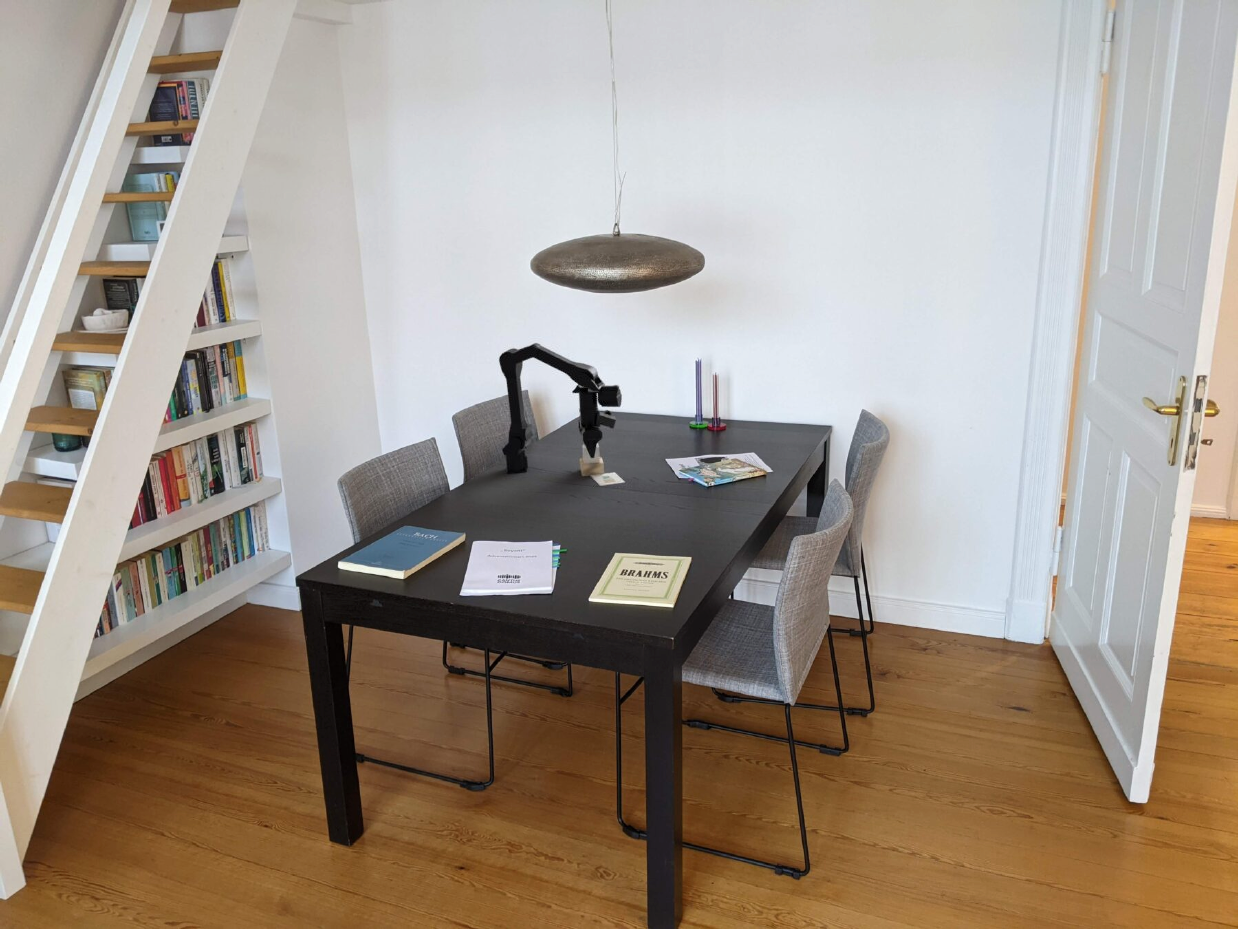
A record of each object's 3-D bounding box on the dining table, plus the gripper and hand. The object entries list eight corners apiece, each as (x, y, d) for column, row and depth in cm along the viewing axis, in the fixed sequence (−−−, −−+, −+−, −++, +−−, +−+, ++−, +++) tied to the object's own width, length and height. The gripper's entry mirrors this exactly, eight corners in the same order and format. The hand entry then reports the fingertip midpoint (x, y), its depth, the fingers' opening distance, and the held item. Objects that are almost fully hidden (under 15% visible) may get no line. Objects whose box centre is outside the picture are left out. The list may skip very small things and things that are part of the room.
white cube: (584, 463, 301) (583, 448, 299) (583, 459, 305) (582, 444, 304) (599, 462, 301) (599, 447, 300) (598, 458, 306) (597, 443, 304)
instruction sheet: (600, 485, 290) (600, 485, 290) (590, 476, 300) (590, 475, 300) (625, 482, 292) (625, 481, 292) (614, 472, 302) (614, 472, 302)
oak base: (582, 476, 301) (581, 464, 300) (580, 470, 307) (579, 458, 306) (604, 475, 301) (603, 463, 300) (601, 468, 308) (601, 457, 307)
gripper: (617, 411, 290) (619, 460, 295) (610, 398, 308) (612, 444, 312) (581, 414, 289) (584, 462, 293) (576, 400, 307) (578, 447, 311)
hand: (591, 454), depth 303 cm, fingers open, 9 cm apart
